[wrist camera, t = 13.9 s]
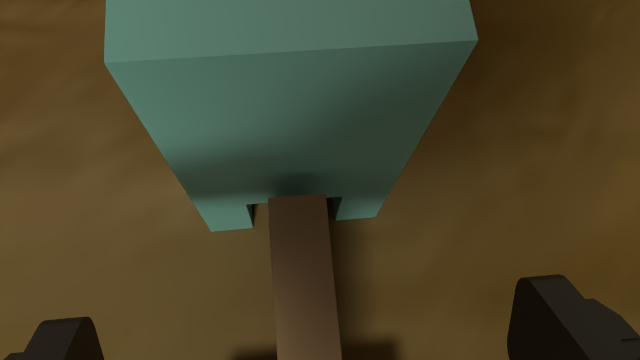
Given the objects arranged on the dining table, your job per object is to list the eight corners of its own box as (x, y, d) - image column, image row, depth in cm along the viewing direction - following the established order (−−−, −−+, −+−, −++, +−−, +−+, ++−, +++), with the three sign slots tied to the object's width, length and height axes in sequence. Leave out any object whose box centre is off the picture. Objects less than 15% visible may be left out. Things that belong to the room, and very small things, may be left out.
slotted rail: (224, 520, 17) (189, 603, 11) (209, -30, 24) (183, -151, 18) (405, 499, 17) (460, 568, 12) (338, -35, 24) (352, -154, 19)
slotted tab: (211, 231, 20) (103, 62, 9) (209, 172, 21) (107, -53, 9) (375, 217, 20) (478, 40, 9) (367, 160, 21) (453, -68, 10)
